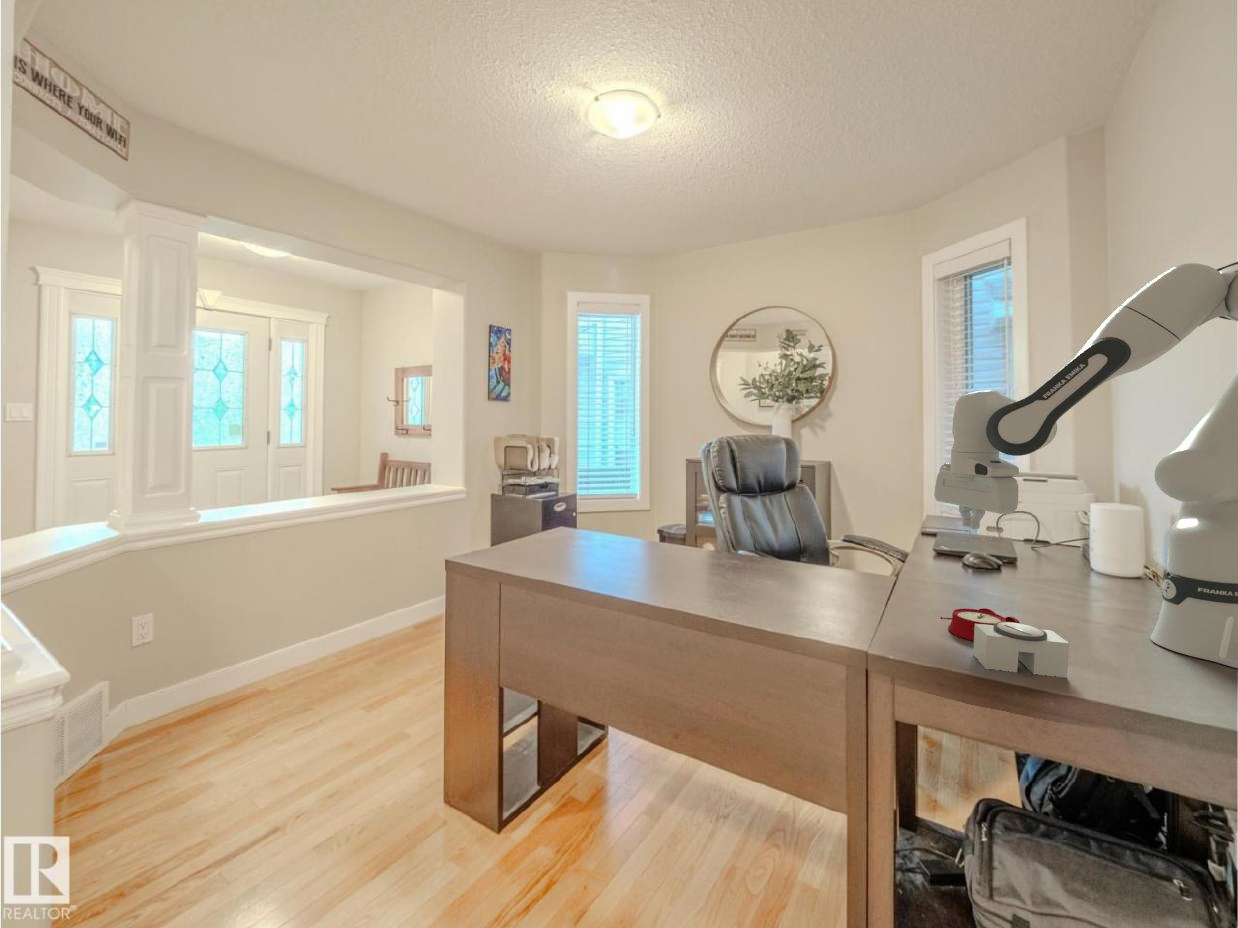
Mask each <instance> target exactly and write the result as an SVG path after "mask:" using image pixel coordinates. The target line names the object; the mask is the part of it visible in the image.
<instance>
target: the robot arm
mask: <svg viewBox="0 0 1238 928" xmlns="http://www.w3.org/2000/svg"><path fill="white" fill-rule="evenodd" d="M1217 318H1220V319H1223V320H1228V321H1234V322H1238V261H1235V262H1232V263H1230V264H1228V265H1227V264H1226V265H1225V266H1222V267H1219V268H1217V269H1216V268H1214V267H1212V266H1210V265H1206V264H1202V263H1195V262H1193V263H1191V262H1190V263H1189V262H1188V263H1187V262H1186V263H1183V264H1182V263H1181V264H1178V265H1176V266H1174V267H1172V268H1170V269H1168V270H1167V271H1165V272H1164V273H1162V274H1161V275H1159V276H1157V277H1156V278H1155V279H1153V280H1152V281H1150V282H1149V283H1147V284H1146V285H1144V287H1142V288H1141V289H1140V290H1138V291H1137V292H1136V293H1134V294H1133V295H1132V296H1130V298H1128V299H1126V301H1125V302H1123V304H1121V305H1120V306H1119V307H1118V308H1116V310H1114V311H1113V313H1112V314H1110V315H1109V316H1108V318H1106V320H1104V322H1102V324H1101V325H1099V327H1098V328H1097V329H1096V331H1094V333H1093V334H1092V335H1091V337H1090V338H1089V339H1088V340H1087V342H1086V343H1085V344H1084V345H1083V347H1082V348H1081V349H1080V350H1079V351H1078V353H1077V354H1076V355H1075V356H1074V357H1073V358H1072V359H1071V360H1070V361H1069V362H1068V363H1066V365H1064V366H1063V367H1062V368H1061V369H1059V371H1057V372H1056V373H1054V374H1053V376H1052V377H1050V378H1049V379H1047V380H1046V381H1045V382H1044V383H1043V384H1042V385H1041V386H1039V387H1038V388H1037V389H1036V390H1035V391H1033V392H1032V393H1031V394H1029V395H1028V396H1026V397H1024V398H1022V399H1020V400H1016V399H1012V398H1010V397H1008V396H1006V395H1004V394H1002V393H1001V392H999V391H998V390H993V389H986V390H979V391H978V390H977V391H974V392H969V393H965V394H963V395H962V396H960V398H958V399H957V401H956V403H955V405H954V406H955V407H954V411H953V419H952V429H951V430H952V436H953V445H952V447H951V453H950V454H951V455H950V462H945V463H943V465H941V466H940V467H939V472H938V473H937V475H936V479H935V487H934V498H935V501H937V502H939V503H945V504H950V505H955V506H958V512H959V514H960V516H961V519H962V524H961V525H962V527H964V528H969V529H971V530H978V529H980V526H981V523H980V522H981V521H982V519H983V517H985V514H986V512H989V513H994V514H1002V515H1006V514H1008V515H1010V514H1011V515H1012V514H1014V513H1015V512H1016V511H1017V508H1018V505H1019V504H1018V503H1019V484H1018V480H1017V479H1016V477H1018V476H1019V474H1020V468H1019V467H1018V466H1016V465H1014V463H1013V464H1012V463H1011V462H1008V461H1007V460H1005V459H1004V458H1001V457H1000V453H1001V454H1004V455H1008V456H1014V457H1019V456H1020V457H1021V456H1027V455H1030V454H1032V453H1034V452H1036V451H1039V450H1041V449H1043V448H1044V447H1046V446H1048V445H1049V444H1050V443H1051V442H1052V441H1053V440H1054V439H1055V437H1056V435H1057V431H1058V424H1057V421H1058V420H1060V419H1061V418H1062V416H1064V415H1065V414H1066V413H1067V412H1068V411H1070V410H1071V409H1072V408H1074V407H1075V406H1076V405H1077V404H1079V402H1081V401H1082V400H1083V399H1084V398H1086V397H1087V396H1089V394H1090V393H1092V392H1093V391H1094V390H1096V389H1097V388H1098V387H1100V386H1101V385H1103V384H1105V383H1106V382H1108V381H1110V380H1112V379H1115V378H1116V377H1119V376H1122V375H1125V374H1128V373H1131V372H1135V371H1138V370H1140V369H1142V368H1144V367H1145V366H1147V365H1148V364H1151V363H1152V362H1154V361H1156V360H1158V359H1159V358H1160V357H1162V356H1163V355H1165V354H1166V353H1167V352H1170V351H1171V350H1172V349H1173V348H1175V346H1177V345H1178V344H1179V343H1180V342H1182V341H1184V339H1185V338H1187V337H1188V336H1189V335H1190V334H1192V333H1193V331H1195V330H1196V329H1197V328H1199V327H1201V326H1202V325H1204V324H1205V323H1208V322H1209V321H1211V320H1214V319H1217ZM1154 480H1155V482H1156V483H1155V484H1156V485H1157V487H1158V488H1159V489H1160V491H1162V493H1164V494H1165V495H1166V496H1168V497H1170V498H1172V499H1175V501H1178V502H1179V501H1180V502H1181V505H1180V508H1179V511H1178V513H1177V516H1176V519H1175V520H1174V523H1173V525H1171V528H1169V529H1170V530H1169V533H1168V545H1167V562H1166V569H1164V570H1163V573H1162V585H1161V597H1162V598H1161V599H1162V602H1161V608H1160V612H1159V616H1158V619H1157V622H1156V625H1155V627H1154V629H1153V631H1152V633H1151V635H1150V637H1149V638H1150V640H1151V641H1152V642H1153V643H1155V644H1157V645H1158V646H1161V647H1163V648H1165V649H1168V650H1170V651H1173V652H1176V653H1179V654H1182V655H1187V656H1190V657H1194V658H1198V659H1203V660H1206V661H1211V662H1215V663H1218V664H1221V665H1224V666H1228V667H1230V668H1235V669H1238V367H1237V368H1236V370H1235V372H1234V373H1233V374H1232V376H1231V377H1230V379H1229V380H1228V382H1227V384H1226V385H1225V386H1224V388H1223V390H1222V392H1220V395H1218V398H1217V399H1216V401H1214V403H1213V404H1212V406H1211V407H1210V408H1209V409H1208V411H1206V413H1205V414H1204V415H1203V416H1202V417H1201V418H1200V420H1199V421H1198V422H1196V423H1195V424H1194V426H1193V427H1192V428H1191V429H1190V430H1189V431H1188V432H1187V433H1186V434H1185V436H1183V438H1182V439H1181V440H1180V441H1179V443H1178V444H1177V445H1176V446H1175V447H1174V448H1173V449H1172V450H1171V452H1169V453H1168V454H1167V455H1165V456H1164V457H1163V458H1162V459H1161V460H1159V462H1158V463H1157V465H1156V467H1155V470H1154Z"/></svg>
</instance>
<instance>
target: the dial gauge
mask: <svg viewBox="0 0 1238 928" xmlns="http://www.w3.org/2000/svg"><path fill="white" fill-rule="evenodd" d="M1069 647H1070V643H1069V642H1068V641H1067V640H1065V639H1064V638H1062V637H1061V636H1060V635H1058V633H1056V632H1055V631H1053V630H1050V629H1041V628H1039V627H1035V626H1034V625H1029V624H1026V623H1021V622H1020V623H1014V622H998V623H995V624H994V625H985V624H975V630H974V641H973V651H972V652H973V654H974V655H973V657H974V656H975V657H976V658H977V659H978V660H977V659H976V658H975V657H974V658H975V659H976V660H977V661H978V662H979V664H980V663H981V664H982V665H983V666H984V667H983V666H982V665H981V666H982V667H983V668H984V669H985V670H989V669H995V670H994V671H999V670H1002V671H1001V672H1008V671H1009V672H1010V673H1018V667H1019V662H1020V661H1021V662H1022V663H1023V664H1024V665H1025V666H1026V667H1025V666H1024V665H1023V664H1022V663H1021V662H1020V663H1021V664H1022V665H1023V666H1024V667H1025V668H1026V669H1027V670H1029V672H1031V673H1032V674H1033V675H1036V674H1038V676H1045V675H1047V676H1048V677H1054V676H1056V678H1063V679H1064V678H1066V679H1067V678H1068V668H1069V667H1068V666H1069V652H1070V651H1069V649H1070V648H1069ZM1018 652H1019V653H1018ZM1019 660H1020V661H1019ZM1047 676H1046V677H1047Z"/></svg>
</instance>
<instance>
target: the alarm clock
mask: <svg viewBox="0 0 1238 928" xmlns="http://www.w3.org/2000/svg"><path fill="white" fill-rule="evenodd" d="M939 618H940V620H951V622H950V623H949V625H948V631H949V632H950V633H951V634H953V635H955V636H956V637H955V638H957V637H958V639H960V638H962V639H966V640H969V641H973V642H974V630H975V624H985V625H994V624H995V623H998V622H1014V623H1020V624H1021V622H1020V620H1019V619H1018V618H1016V617H1014V616H1006V617H1005V616H1002V615H1000V614H997V613H996V612H995V611H993V610H992V609H989V608H987V607H985V608H984V607H983V608H979V609H978V608H977V609H976V608H956V609H954V610H953V612H952V614H951V617H942V616H940V617H939Z"/></svg>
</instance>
